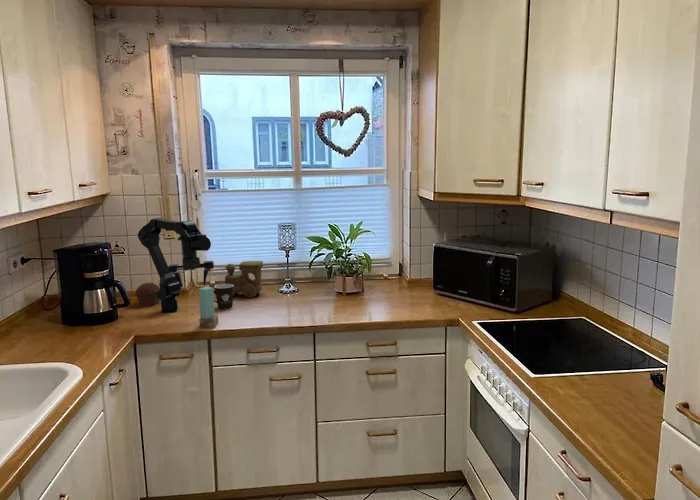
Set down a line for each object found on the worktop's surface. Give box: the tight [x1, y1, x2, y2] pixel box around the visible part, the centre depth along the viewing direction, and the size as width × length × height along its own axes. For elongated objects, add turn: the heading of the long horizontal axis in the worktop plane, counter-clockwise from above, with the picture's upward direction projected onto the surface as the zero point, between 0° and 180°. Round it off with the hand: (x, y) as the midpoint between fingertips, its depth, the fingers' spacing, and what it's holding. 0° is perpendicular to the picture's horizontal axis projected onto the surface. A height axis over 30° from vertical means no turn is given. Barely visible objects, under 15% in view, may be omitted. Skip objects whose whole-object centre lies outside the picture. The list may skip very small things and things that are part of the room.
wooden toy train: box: [224, 260, 264, 299], centre depth 263 cm, size 20×11×17 cm, turn 87°
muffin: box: [134, 282, 160, 307], centre depth 249 cm, size 12×11×10 cm
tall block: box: [198, 286, 216, 319], centre depth 214 cm, size 4×4×12 cm
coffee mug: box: [213, 283, 234, 310], centre depth 242 cm, size 12×9×10 cm
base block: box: [198, 314, 219, 329], centre depth 216 cm, size 6×6×4 cm
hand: (193, 286), depth 228 cm, fingers open, 9 cm apart
